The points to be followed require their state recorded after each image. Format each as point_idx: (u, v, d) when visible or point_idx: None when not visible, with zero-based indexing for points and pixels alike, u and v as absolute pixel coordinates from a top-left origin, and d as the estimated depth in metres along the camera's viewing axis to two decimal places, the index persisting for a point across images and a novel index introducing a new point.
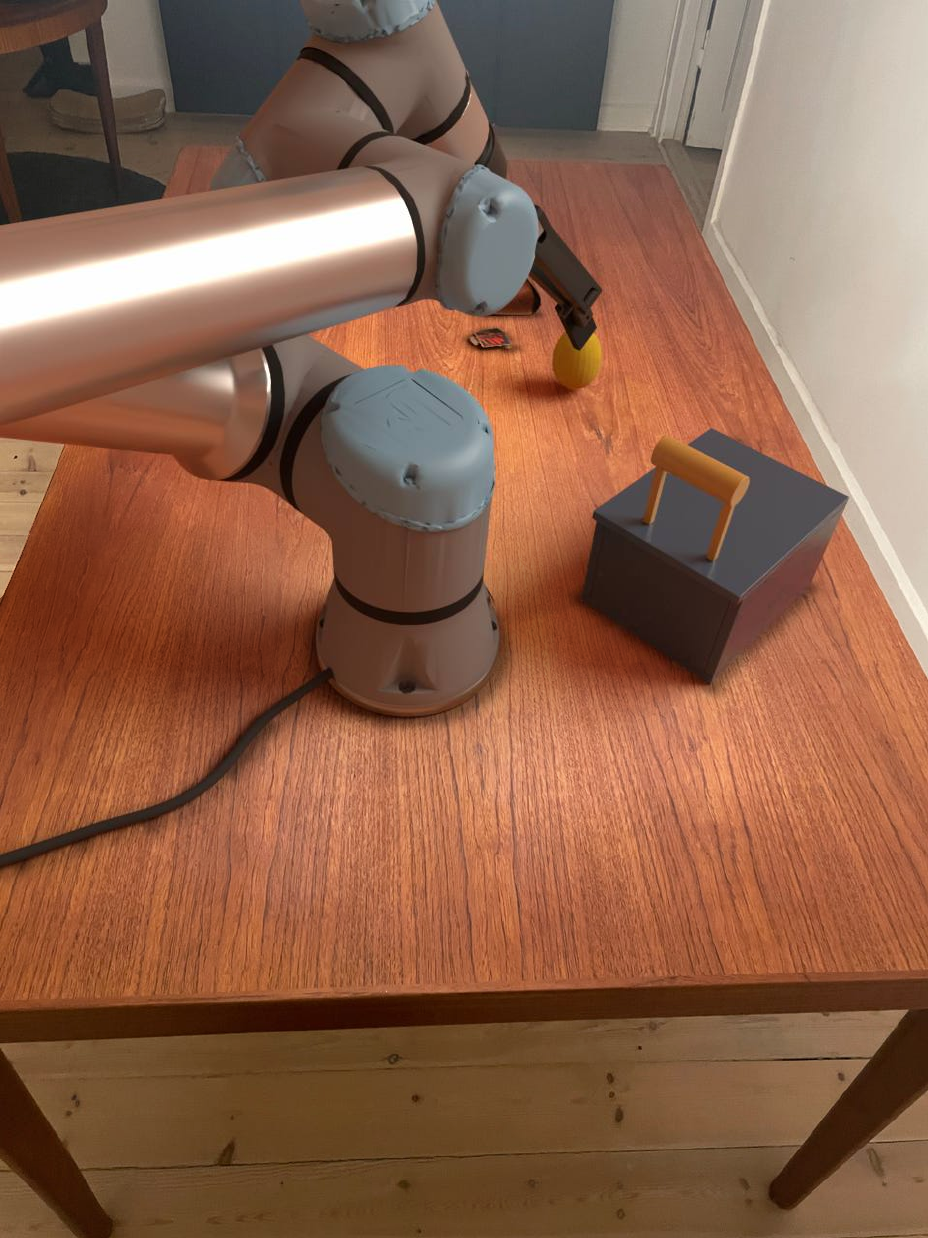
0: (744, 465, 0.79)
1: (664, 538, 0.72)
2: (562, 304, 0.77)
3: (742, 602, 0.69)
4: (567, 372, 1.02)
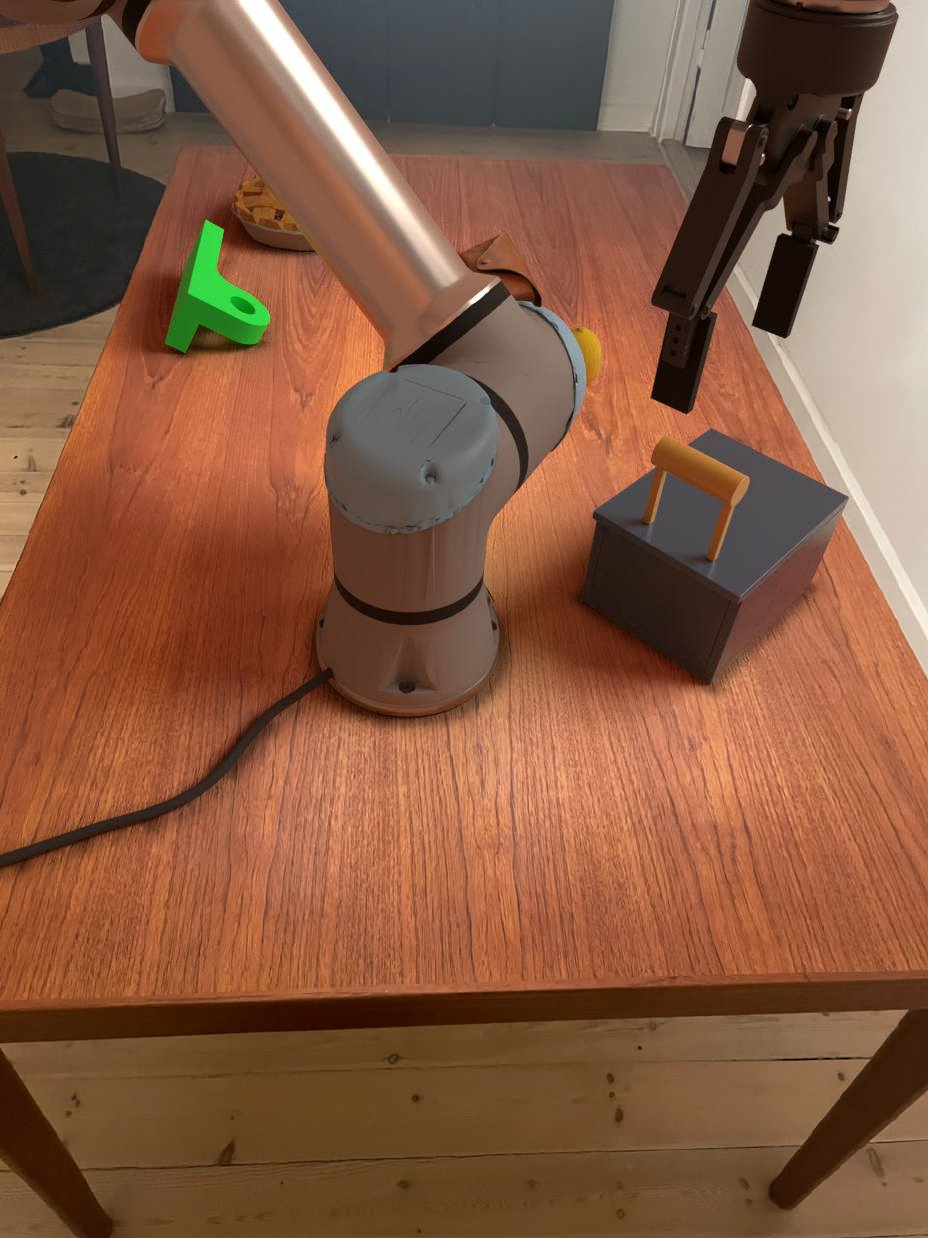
0: (744, 465, 0.79)
1: (664, 538, 0.72)
2: None
3: (742, 602, 0.69)
4: None
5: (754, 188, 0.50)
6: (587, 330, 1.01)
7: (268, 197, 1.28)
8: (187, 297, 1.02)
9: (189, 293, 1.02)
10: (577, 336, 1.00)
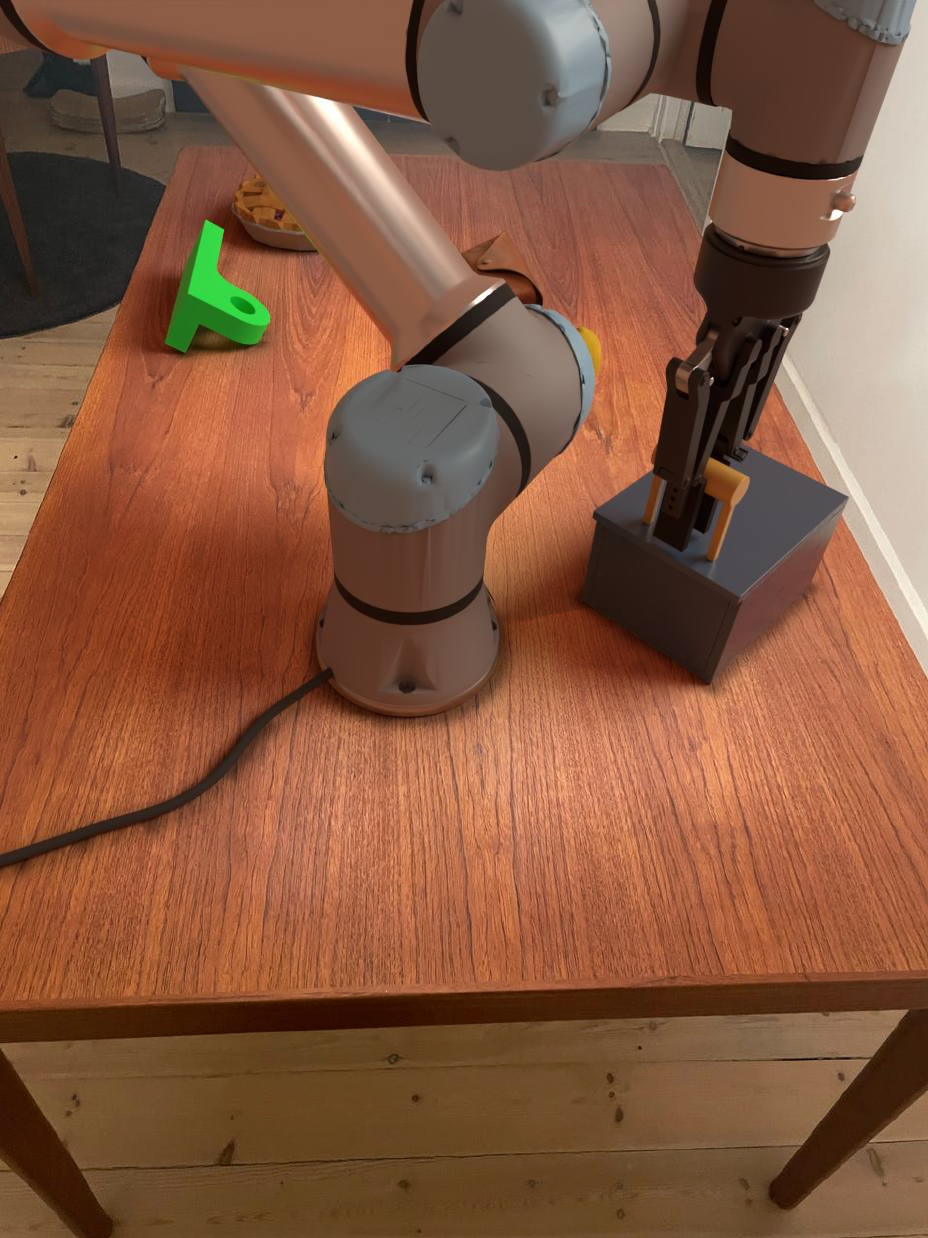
0: (744, 465, 0.79)
1: None
2: None
3: (742, 602, 0.69)
4: None
5: (715, 390, 0.60)
6: (587, 330, 1.01)
7: (268, 197, 1.28)
8: (187, 297, 1.02)
9: (189, 293, 1.02)
10: None
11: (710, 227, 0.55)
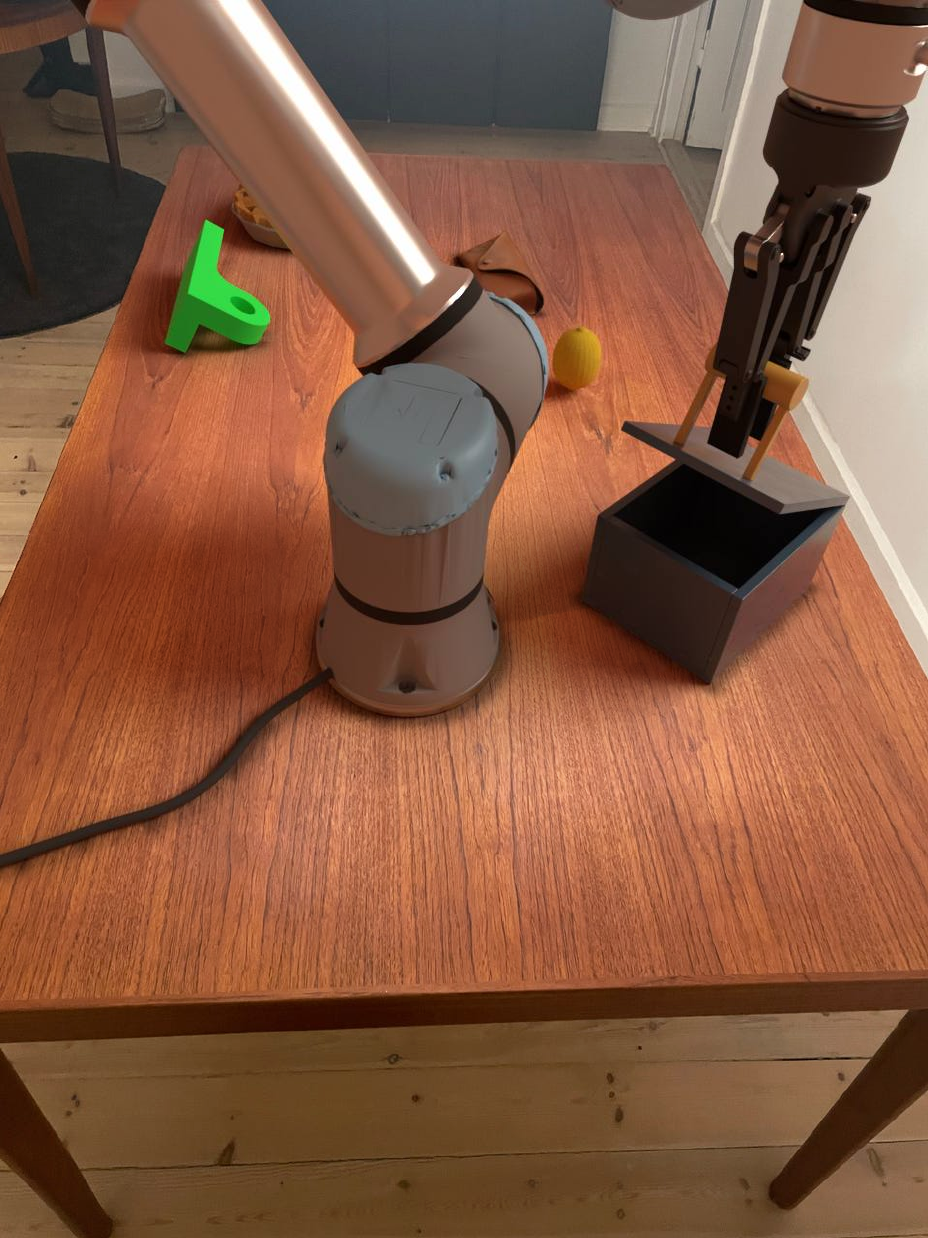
0: (750, 451, 0.78)
1: (698, 455, 0.67)
2: None
3: (742, 602, 0.69)
4: (567, 372, 1.02)
5: (782, 273, 0.58)
6: (587, 330, 1.01)
7: None
8: (187, 297, 1.02)
9: (189, 293, 1.02)
10: (577, 336, 1.00)
11: (783, 94, 0.53)
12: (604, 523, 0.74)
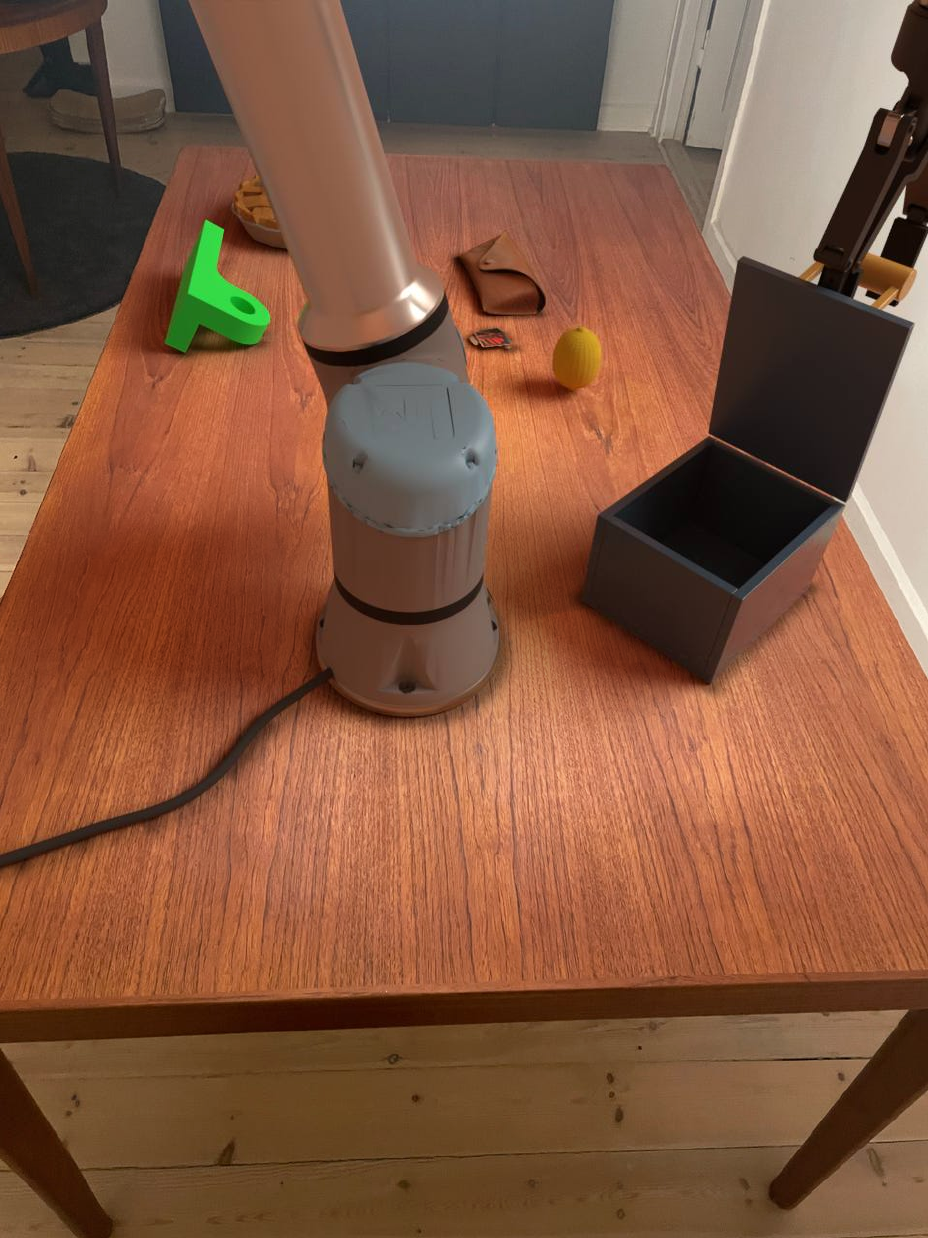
0: None
1: None
2: None
3: (742, 602, 0.69)
4: (567, 372, 1.02)
5: (900, 164, 0.63)
6: (587, 330, 1.01)
7: None
8: (187, 297, 1.02)
9: (189, 293, 1.02)
10: (577, 336, 1.00)
11: (914, 3, 0.59)
12: (604, 523, 0.74)
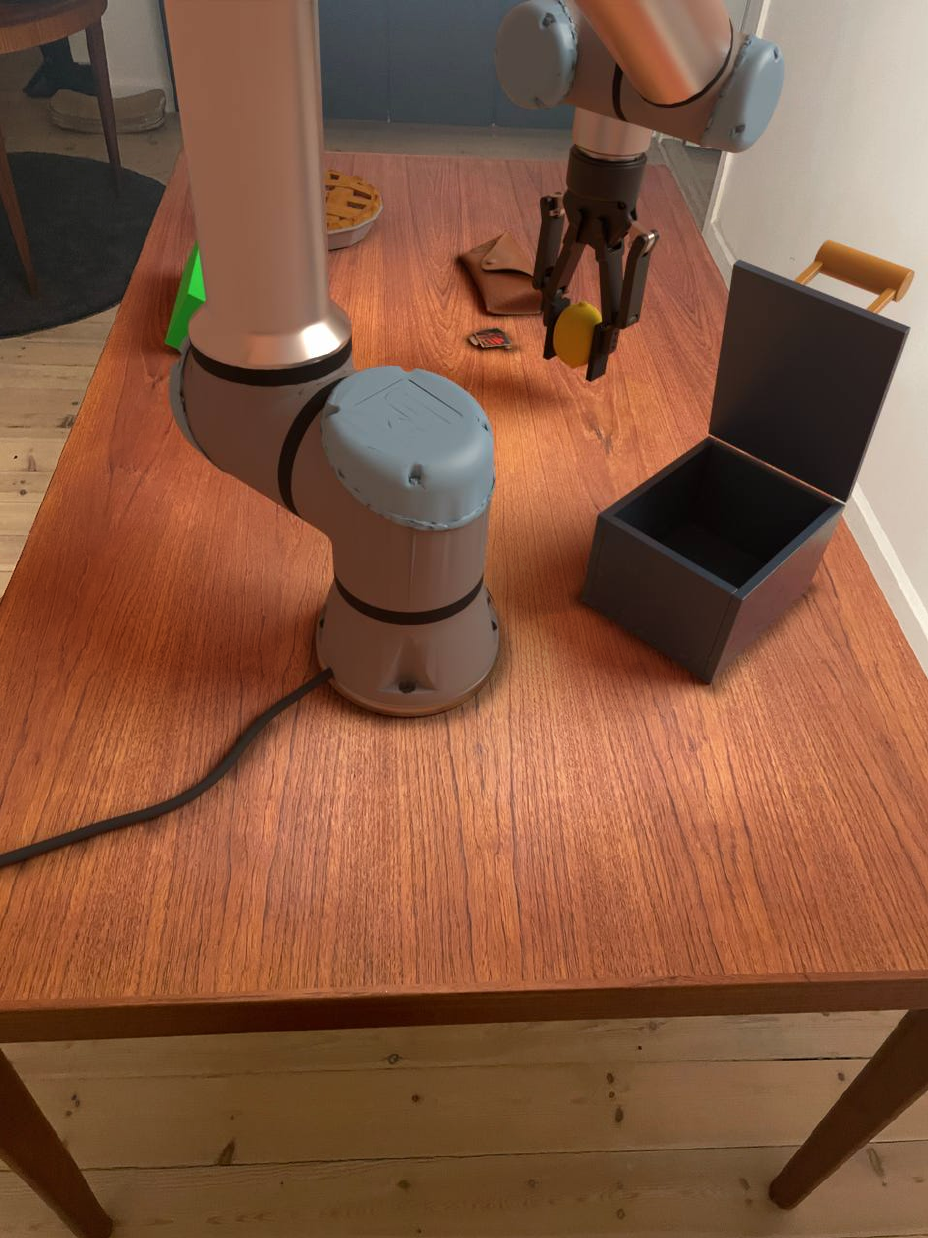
0: None
1: None
2: (607, 320, 0.96)
3: (742, 602, 0.69)
4: (569, 348, 0.99)
5: (617, 253, 0.93)
6: (589, 305, 0.98)
7: None
8: (187, 297, 1.02)
9: (189, 293, 1.02)
10: (579, 311, 0.98)
11: (604, 162, 0.85)
12: (604, 523, 0.74)
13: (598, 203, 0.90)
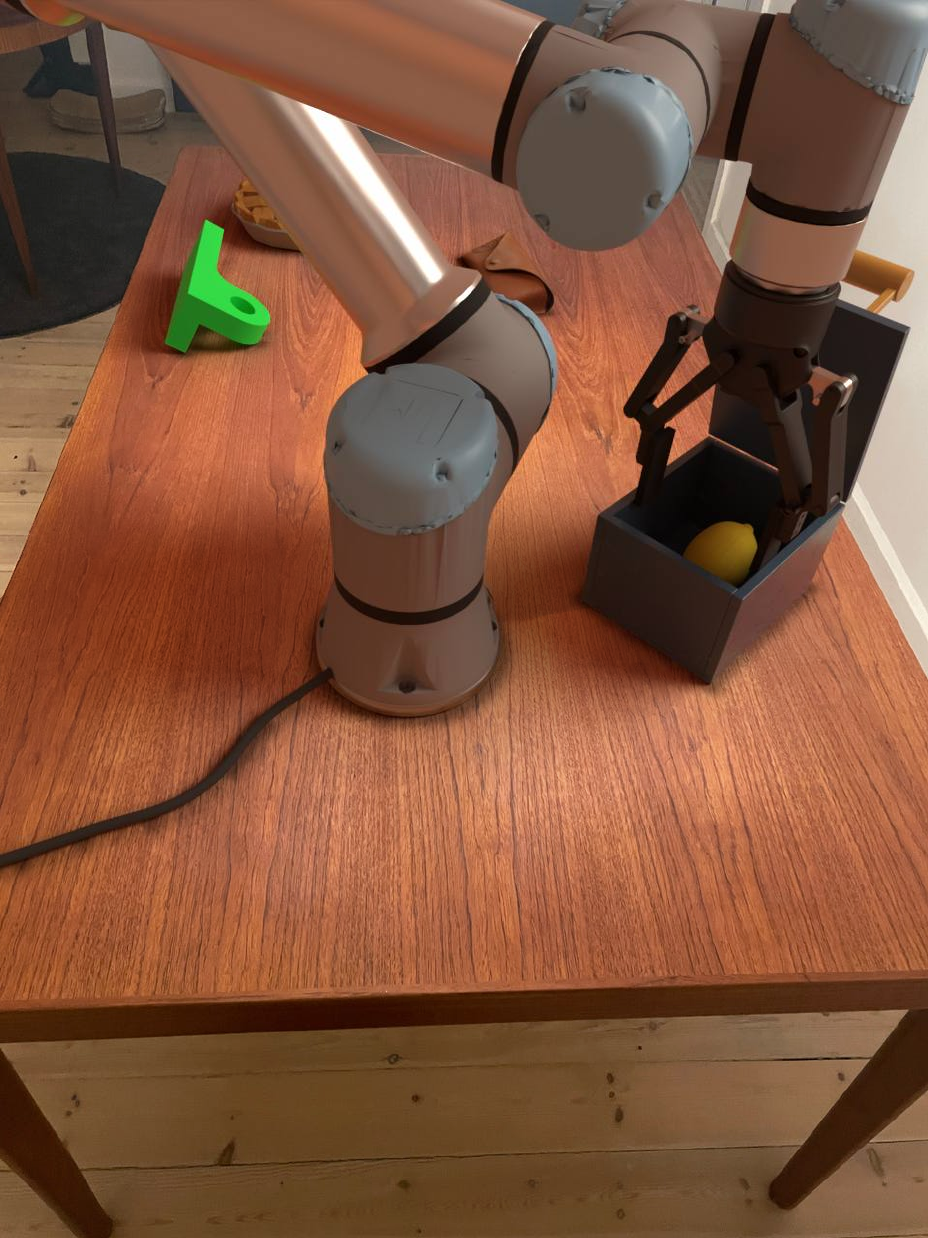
0: None
1: None
2: (793, 500, 0.66)
3: (742, 602, 0.69)
4: (717, 565, 0.77)
5: (794, 407, 0.64)
6: None
7: None
8: (187, 297, 1.02)
9: (189, 293, 1.02)
10: (747, 532, 0.77)
11: (783, 296, 0.57)
12: (604, 523, 0.74)
13: None
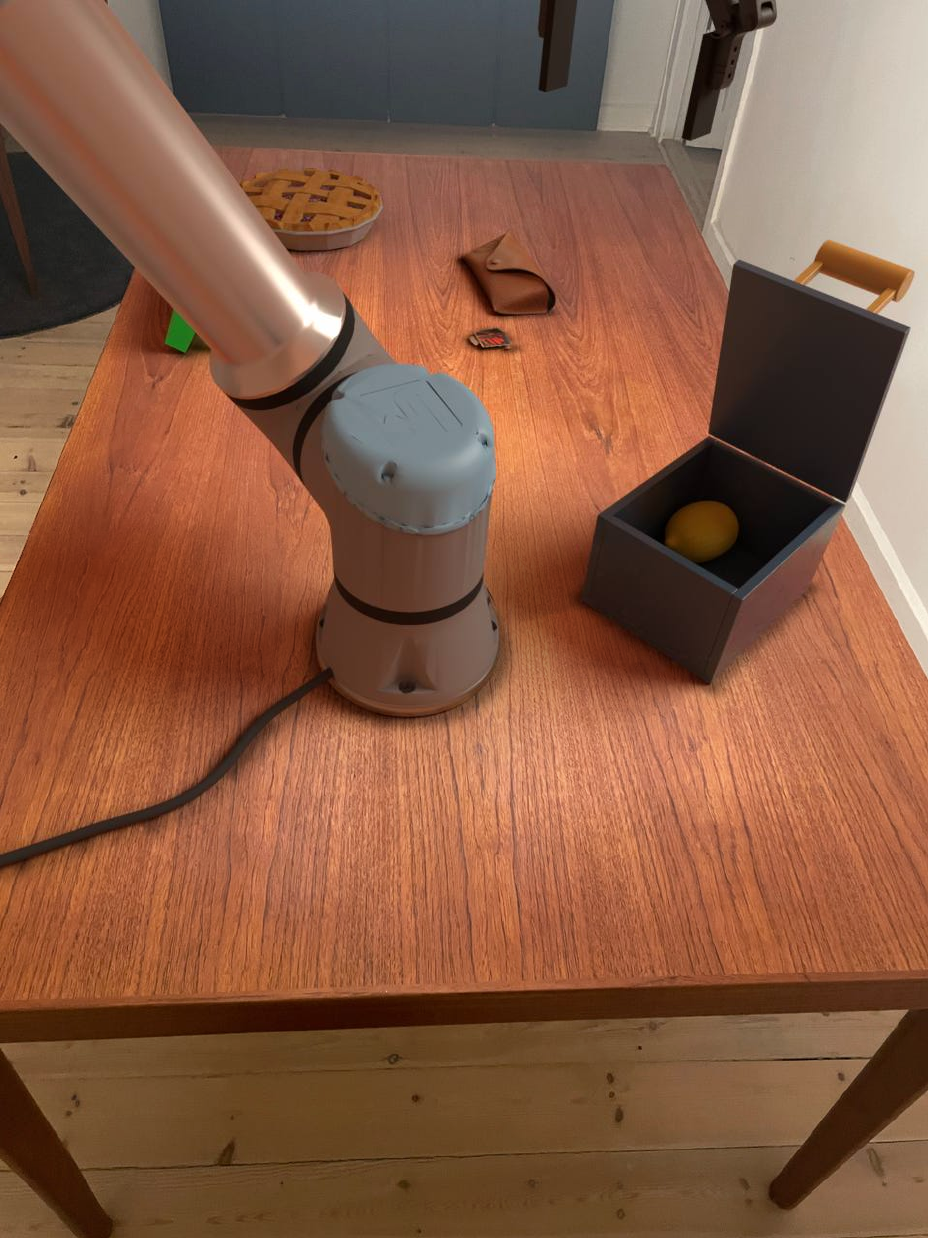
0: None
1: None
2: (722, 19, 0.60)
3: (742, 602, 0.69)
4: None
5: None
6: None
7: (268, 197, 1.28)
8: None
9: None
10: None
11: None
12: (604, 523, 0.74)
13: None
